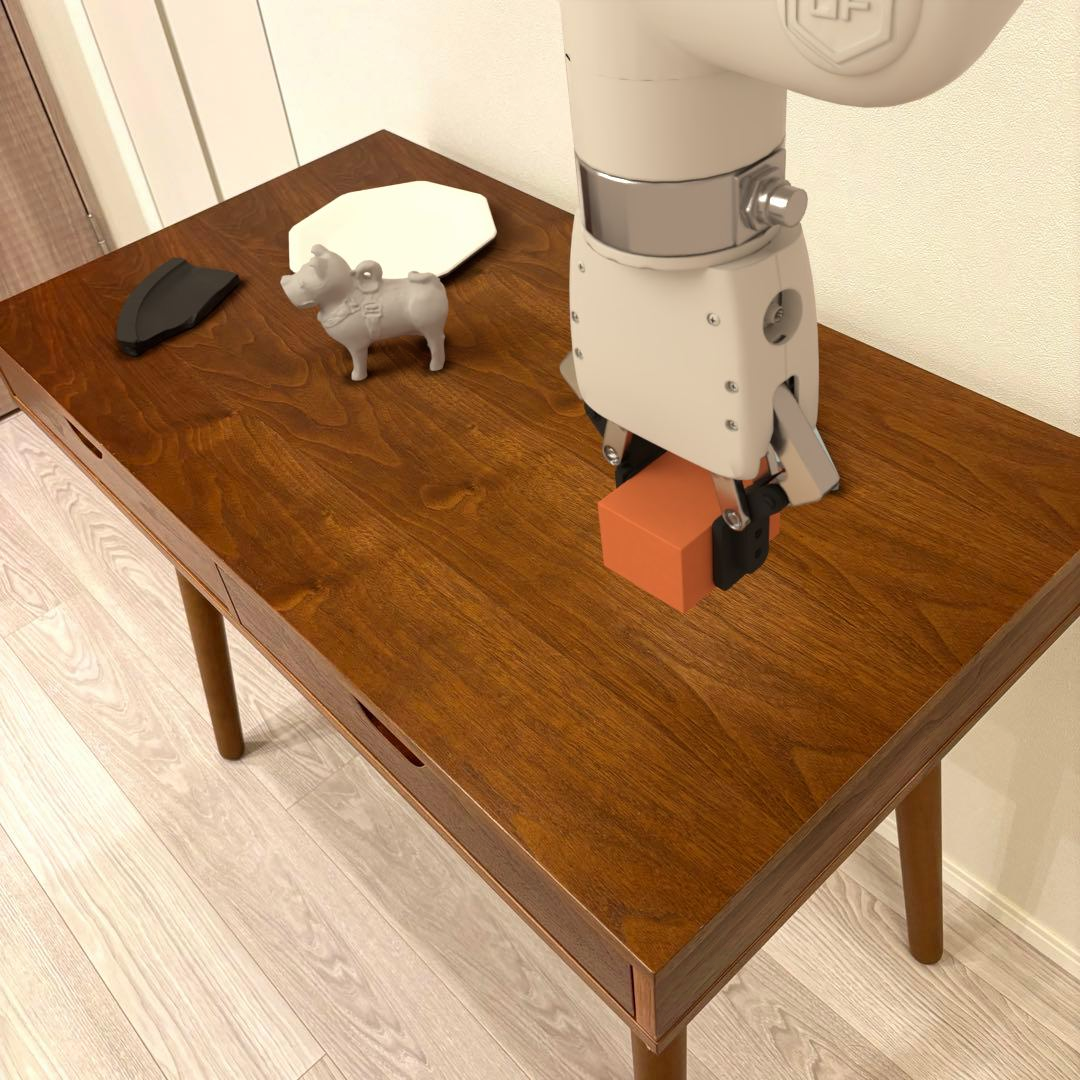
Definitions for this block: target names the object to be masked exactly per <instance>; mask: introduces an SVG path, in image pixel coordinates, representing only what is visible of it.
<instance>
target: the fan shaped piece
mask: <svg viewBox="0 0 1080 1080" xmlns="http://www.w3.org/2000/svg"><path fill="white" fill-rule="evenodd" d="M240 281H241V279H240V277H239V274H238V273H237V272H235V271H234V272H233V271H230V270H224V269H220V268H211V267H202V266H195V265H193V264H191V262H189V261H188V260H187V259H186V258H184V257H171V258H170V259H168V260H167V261H165V262H163V264H162V263H161V265H159V266H158V267H156V268H155V269H154V270H153V271H152V272H150V273H149V274H148V275H146V276H145V278H143V280H141V281H140V282H139V283H138V284H137V286H135V288H133V290H132V291H131V292H130V294H129V296H128V297H127V298H126V300H125V301H124V303H123V305H122V308H121V310H120V313H119V315H118V319H117V321H116V322H117V323H116V340H117V341H118V343H119V344H120V346H121V349H122V352H123V353H125V354H126V355H129V356H132V357H138V356H139V355H141V354H142V353H144V352H145V351H147V350H149V349H151V348H152V347H154V346H156V344H159V343H160V342H162V341H164V340H166V339H168V338H170V337H173V336H175V335H177V334H179V333H181V332H184V331H186V330H189V329H191V328H193V327H195V326H196V325H197V324H198V323H200V322H201V321H202V320H203V319H204V318H205V317H206V316H207V315H208V314H209V313H210V312H211V311H212V310H214V309H215V307H216V306H217V305H218V304H219V303H221V302H222V300H223V299H224V298H225V297H226V296H227V295H228V294H229V293H230V292H231V291H232V290H233V289H234V288H235V287H236V286H237V285H239V284H240V283H241V282H240Z"/></svg>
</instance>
